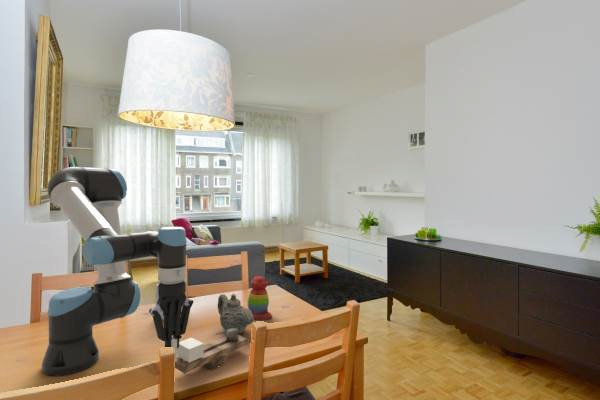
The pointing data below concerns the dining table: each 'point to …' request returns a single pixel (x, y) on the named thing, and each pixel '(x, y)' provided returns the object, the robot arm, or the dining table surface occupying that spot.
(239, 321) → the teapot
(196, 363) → the beam
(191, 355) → the rider
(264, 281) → the stacking bear
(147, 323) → the dining table surface
